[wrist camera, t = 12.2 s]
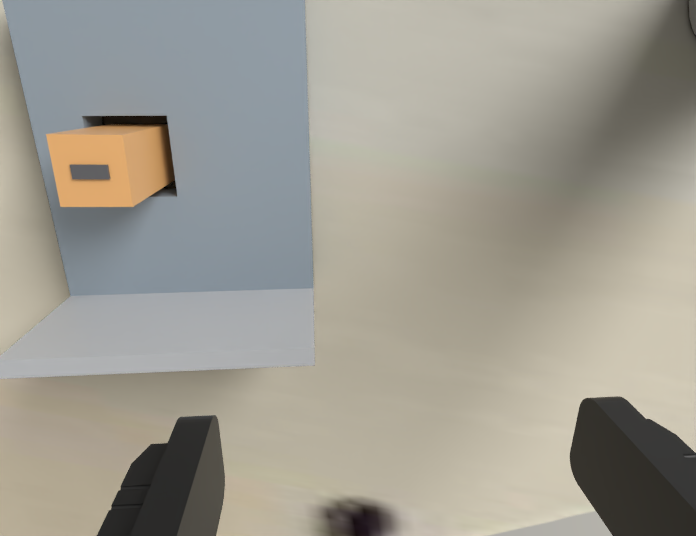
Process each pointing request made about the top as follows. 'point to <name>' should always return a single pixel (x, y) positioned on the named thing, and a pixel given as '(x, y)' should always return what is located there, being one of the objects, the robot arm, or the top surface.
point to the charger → (110, 164)
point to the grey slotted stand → (191, 186)
